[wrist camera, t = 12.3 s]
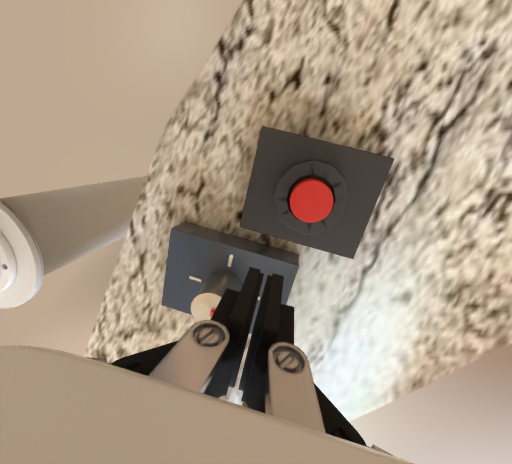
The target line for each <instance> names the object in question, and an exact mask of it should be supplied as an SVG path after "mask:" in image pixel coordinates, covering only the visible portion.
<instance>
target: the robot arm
mask: <svg viewBox="0 0 512 464" xmlns="http://www.w3.org/2000/svg"><path fill="white" fill-rule="evenodd" d="M260 271H261V270H260V269H256V268H253V267H250V268H249V271H248V273H247V276H246V278H245V281H244V283H243V286H242V288H241V291H240V292H239V291H236V290H232V289H229V288H226V290H225V292H224V294H223V296H222V298H221V300H220V302H219V304H218V306H217V308H216V310H215V311H214V313H213V315H212V317H211V319H210V320H202V321H199V322H197V323H195V324H194V325H192V326H191V327H190V329H189V330H188V331H187V332H186V333H185V334H184V335H183V337H182V338H181V339H180V340H179V341H176V342H173V343H169V344H166V345H163V346H159V347H156V348H153V349H150V350H146V351H143V352H140V353H137V354H133V355H130V356H127V357H123V358H121V359H119V360H116V361H115V362H113V363H112V364H111V363H107V359H100V358H89V357H82V356H78V355H75V354H71V353H67V352H63V351H59V350H53V349H47V348H41V347H31V346H0V464H413V463H410V462H408V461H405V460H403V459H400V458H397V457H395V456H393V455H391V454H389V453H388V452H386V451H384V450H382V449H380V448H379V447H377V446H375V445H372V447H371V448H370V447H368V446H366V444H365V442H364V440H363V438H362V437H361V436H360V434H359V433H358V432H357V431H356V430H355V428H354V427H353V426H352V425H351V424H350V423H349V422H348V421H347V420H346V418H345V417H344V416H343V415H342V414H341V413H340V412H339V411H338V409H337V408H336V407H335V406H334V405H333V404H332V403H331V402H330V400H329V399H328V398H327V397H326V396H325V395H324V394H323V393H322V392H321V390H320V389H319V388H318V387H317V386H316V385H315V384H314V382H313V377H312V373H311V369H310V365H309V361H308V359H307V356H306V355H305V354H304V352H303V351H302V350H301V349H300V348H298V347H297V346H295V345H294V307H291V306H288V305H284V304H281V301H282V290H283V280H284V276H281V275H278V274H274V273H273V274H272V276H270V275H268V276H267V279H266V283H265V287H264V290H263V294H262V297H261V301H260V305H259V308H258V312H257V316H256V319H255V323H254V327H253V331H252V335H251V339H250V343H249V347H248V352H247V356H246V360H245V364H244V368H243V372H242V376H241V381H240V385H239V390H242V391H243V396H242V400H241V401H244V402H245V403H246V405H247V407H248V408H247V407H243V406H240V405H237V404H234V403H231V402H228V401H225V400H222V399H219V397H221V396H223V395H225V396H226V394H227V390H228V387H229V386H230V387H233V388H234V386H235V382H236V379H237V375H238V371H239V368H240V364H241V360H242V357H243V353H244V349H245V346H246V342H247V338H248V334H249V331H250V327H251V323H252V319H253V316H254V312H255V308H256V304H257V300H258V296H259V292H260V289H261V285H262V281H263V277H264V274H263V273H260ZM16 273H17V263H16V258H15V255H14V252H13V250H12V247H11V246H10V244H9V242H8V240H7V239H6V237H5V236H4V235H3V234H2V232H1V231H0V292H2V291H4V290H6V289H8V288H9V287H10V286H11V285H12V284H13V283H14V280H15V278H16Z"/></svg>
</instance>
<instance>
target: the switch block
mask: <svg viewBox="0 0 512 464" xmlns="http://www.w3.org/2000/svg"><path fill="white" fill-rule="evenodd" d="M393 161H394V158H390V157H386V156H382V155H378V154H374V153H370V152H366V151H362V150H357V149H353V148H349V147H345V146H341V145H337V144H333V143H329V142H325V141H321V140H317V139H313V138H309V137H305V136H301V135H297V134H293V133H289V132H285V131H281V130H277V129H272V128H268V127H264V126H262V130H261V134H260V138H259V143H258V147H257V152H256V156H255V160H254V165H253V169H252V174H251V178H250V182H249V187H248V191H247V196H246V200H245V205H244V209H243V213H242V218H241V222H240V227H242V228H245V229H249V230H252V231H256V232H259V233H263V234H266V235H270V236H273V237H277V238H281V239H284V240H288V241H291V242H295V243H298V244H302V245H305V246H309V247H312V248H316V249H319V250H323V251H326V252H330V253H333V254H337V255H340V256H344V257H347V258H351V259H353V258H354V255H355V253H356V250H357V248H358V246H359V243H360V241H361V238H362V236H363V233H364V231H365V229H366V226H367V224H368V221H369V219H370V216H371V214H372V212H373V209H374V207H375V204H376V202H377V199H378V197H379V195H380V192H381V190H382V187H383V185H384V182H385V180H386V178H387V175H388V173H389V170H390V168H391V165H392V163H393ZM309 178H314V179H318V180H321V181H322V182H324V183H325V184H326V185H327V186H328V187H329V189H330V190H331V192H332V195H333V207H332V209H331V211H330V213H329V214H328V215H327V216H326V217H325V218H324V219H322V220H320V221H317V222H311V223H310V222H304V221H302V220H300V219H298V218H297V217H296V216H295V215H294V214H293V212H292V210H291V208H290V196H291V192H292V190H293V188H294V187H295V186H296V185H297V184H298V183H299V182H300V181H302V180H305V179H309Z"/></svg>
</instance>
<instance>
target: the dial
mask: <svg viewBox="0 0 512 464" xmlns="http://www.w3.org/2000/svg"><path fill="white" fill-rule="evenodd" d="M226 288H229V289H232V290H236V291H239V292H240V291H241V288H242V286H241V283H240V281H239V280H238V278H237V277H236V276H235V275H233V274H231V273H229V272H226V271H219V272H215V273H213V274H212V275H211V276H210V277H209V278H208V280H207V281H206V283H205V284H204V285H203V287H202V288H201V289H200V291H199V292H198V294H197V295H196V296H195V298H194V299H193V301H192V303H191V313H192V316H193V318H194V319H195V320H196V322H199V321H202V320H210V319H211V317H212V315H213V313H214V311H215V310H216V308H217V306H218V304H219V302H220V300H221V298H222V296H223V294H224V292H225V290H226Z"/></svg>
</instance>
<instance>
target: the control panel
mask: <svg viewBox="0 0 512 464" xmlns="http://www.w3.org/2000/svg"><path fill="white" fill-rule="evenodd" d="M250 267H253V268H256V269H260V270H261V271H260V273H263V274H264V277H263V281H262V285H261V289H260V292H259V296H258V300H257V304H256V308H255V312H254V316H253V319H252V323H251V327H250V331H249V333H251V334H252V331H253V327H254V323H255V319H256V316H257V312H258V308H259V305H260V301H261V297H262V294H263V290H264V287H265V283H266V279H267V276H268V275H270V276H272V274H273V273H274V274H278V275H281V276H284V280H283V290H282V301H281V304H284V305H286V303H287V300H288V297H289V294H290V291H291V288H292V285H293V282H294V279H295V276H296V273H297V270H298V267H299V255H298V254H295V253H291V252H288V251H284V250H281V249H277V248H274V247H270V246H267V245H263V244H260V243H256V242H253V241H250V240H246V239H243V238H239V237H236V236H232V235H229V234H225V233H222V232H218V231H215V230H211V229H208V228H204V227H201V226H197V225H194V224H190V223H187V222H182V223H180V224H178V225H177V226H175V227H173V228H172V229H171V235H170V243H169V251H168V258H167V266H166V274H165V282H164V290H163V298H162V305H163V306H166V307H169V308H173V309H176V310H179V311H182V312H185V313H188V314H191V315H192V313H191V303H192V301H193V299H194V298H195V296H196V295H197V294H198V292H199V291H200V289H201V288H202V287H203V285H204V284H205V283H206V281H207V280H208V278H209V277H210V276H211V275H212V274H213V273H215V272H219V271H226V272H229V273H231V274H233V275H235V276H236V277H237V278H238V280H239V281H240V283H241V286H243V283H244V281H245V278H246V276H247V273H248V271H249V268H250Z"/></svg>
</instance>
